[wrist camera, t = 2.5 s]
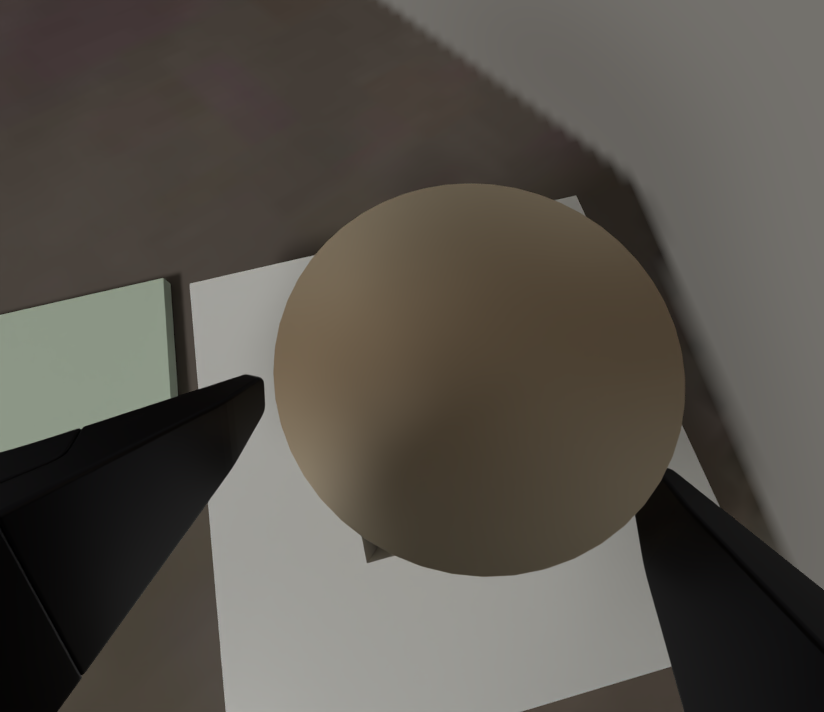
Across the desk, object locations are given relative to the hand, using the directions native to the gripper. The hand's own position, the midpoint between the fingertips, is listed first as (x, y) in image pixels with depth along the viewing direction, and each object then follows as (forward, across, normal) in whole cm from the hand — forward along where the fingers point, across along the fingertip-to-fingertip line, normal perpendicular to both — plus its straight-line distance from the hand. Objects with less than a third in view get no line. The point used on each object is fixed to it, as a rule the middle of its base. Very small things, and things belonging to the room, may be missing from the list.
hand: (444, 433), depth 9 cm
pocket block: (+6, 0, +6) cm, 8 cm away
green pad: (+5, +17, +7) cm, 19 cm away
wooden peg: (+6, 0, +6) cm, 8 cm away
